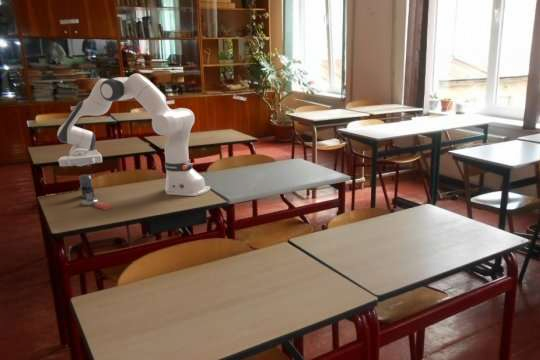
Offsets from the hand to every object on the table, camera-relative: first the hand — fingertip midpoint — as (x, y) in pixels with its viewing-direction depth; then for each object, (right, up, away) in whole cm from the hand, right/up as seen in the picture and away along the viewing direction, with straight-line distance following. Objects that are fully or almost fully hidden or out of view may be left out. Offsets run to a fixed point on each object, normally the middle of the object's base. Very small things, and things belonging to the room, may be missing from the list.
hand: (81, 163), depth 232 cm
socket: (+6, -16, -7) cm, 18 cm away
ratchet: (+15, -20, -20) cm, 32 cm away
